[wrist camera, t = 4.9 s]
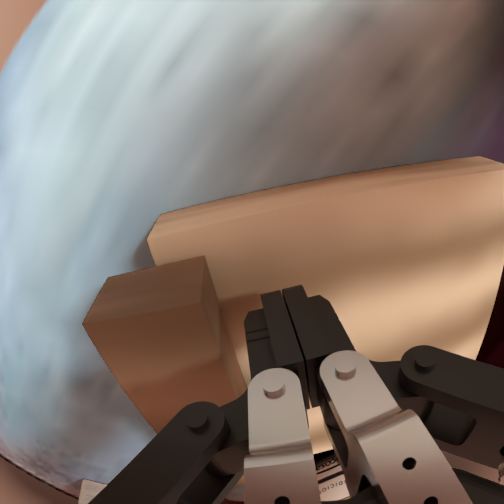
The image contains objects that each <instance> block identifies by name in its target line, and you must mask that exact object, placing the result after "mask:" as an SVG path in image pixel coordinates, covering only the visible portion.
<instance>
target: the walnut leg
mask: <svg viewBox="0 0 504 504" xmlns="http://www.w3.org/2000/svg"><path fill="white" fill-rule="evenodd" d="M82 325H83V326H84V328H85V330H86V332H87V333H88V335H89V337H90V339H91V340H92V342H93V344H94V345H95V347H96V349H97V350H98V352H99V353H100V355H101V357H102V358H103V360H104V361H105V363H106V364H107V366H108V367H109V369H110V371H111V372H112V374H113V375H114V376H115V378H116V379H117V381H118V382H119V384H120V385H121V387H122V388H123V390H124V391H125V392H126V394H127V395H128V397H129V398H130V399H131V401H132V402H133V403H134V405H135V406H136V407H137V409H138V410H139V411H140V413H141V414H142V415H143V417H144V418H145V419H146V420H147V422H148V423H149V424H150V425H151V427H152V428H153V429H154V430H155V432H156V433H157V434H158V433H159V432H160V431H161V430H162V429H163V428H164V427H165V426H166V425H167V424H168V423H169V422H170V421H171V419H172V418H173V417H174V416H175V415H176V414H177V413H178V412H179V411H180V410H181V409H182V408H184V407H185V406H187V405H189V404H191V403H194V402H200V401H206V402H211V403H214V404H216V405H217V406H218V407H221V406H223V405H225V404H227V403H229V402H232V401H234V400H235V399H237V398H239V397H240V396H241V395H242V394H243V393H244V392H245V391H246V390H247V386H246V383H245V380H244V377H243V374H242V371H241V368H240V365H239V363H238V360H237V357H236V354H235V351H234V348H233V345H232V342H231V339H230V335H229V332H228V329H227V326H226V323H225V320H224V317H223V314H222V311H221V307H220V304H219V301H218V298H217V295H216V291H215V288H214V285H213V282H212V278H211V275H210V272H209V268H208V265H207V262H206V258H205V255H204V256H199V257H195V258H190V259H186V260H182V261H177V262H173V263H168V264H164V265H160V266H155V267H151V268H147V269H142V270H138V271H133V272H129V273H125V274H120V275H116V276H112V277H108V278H107V280H106V282H105V283H104V285H103V287H102V289H101V290H100V292H99V294H98V296H97V297H96V299H95V301H94V303H93V305H92V307H91V308H90V310H89V312H88V314H87V316H86V318H85V320H84V321H83V323H82ZM226 499H228V500H232V501H244V474H243V476H242V477H241V478H240V480H239V481H238V482H237V484H236V485H235V486H234V488H233V489H232V490H231V491H230V493H229V494H228V495H227V497H226Z"/></svg>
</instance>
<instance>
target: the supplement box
mask: <svg viewBox="0 0 504 504" xmlns="http://www.w3.org/2000/svg"><path fill="white" fill-rule="evenodd" d="M106 486H107V484H102V483H98V482H94V481H90V480H86V479H83V480H82V485H81V490H80V495H79V501H78V504H88V503H89V502H90V501H91V500H92V499H93V498H94V497H95V496H96V495H97V494H98V493H99V492H101V491H102V490H103V489H104V488H105V487H106Z"/></svg>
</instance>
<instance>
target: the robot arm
mask: <svg viewBox="0 0 504 504" xmlns="http://www.w3.org/2000/svg"><path fill="white" fill-rule="evenodd" d="M260 296H261V301H262V305H263V308H262V309H258V310H253V311H249V312H248V314H247V316H246V318H245V320H244V329H245V336H246V343H247V351H248V359H249V366H250V374H251V381H250V384H249V386H248V388H247V390H246V391H245V392H244V393H243V394H242V395H241V396H240V397H239V398H237V399H235V400H234V401H232V402H229V403H227V404H225V405H223V406H221V407H218V406H217V405H216V404H214V403H211V402H206V401H200V402H194V403H191V404H189V405H187V406H185V407H184V408H182V409H181V410H180V411H179V412H178V413H177V414H176V415H175V416H174V417H173V418H172V419H171V421H170V422H169V423H168V424H167V425H166V426H165V427H164V428H163V429H162V430H161V431H160V432H159V433H158V434H157V435H156V436H155V437H154V438H153V439H152V441H151V442H150V443H149V444H148V445H147V446H146V447H145V448H144V449H143V450H142V451H141V452H140V453H139V454H138V455H137V456H136V457H135V458H134V459H133V460H132V461H131V462H130V463H129V464H128V465H127V466H126V467H125V468H124V469H123V470H122V471H121V472H120V473H119V474H118V475H117V476H116V477H115V478H114V479H113V480H112V481H111V482H110V483H109V484H108V485H107V486H106V487H105V488H104V489H103V490H102V491H101V492H99V493H98V494H97V495H96V496H95V497H94V498H93V499H92V500H91V501H90V502H89V503H88V504H221V503H222V502H223V500H224V499H225V498H226V497H227V495H228V494H229V493H230V491H231V490H232V489H233V488H234V486H235V485H236V484H237V482H238V481H239V480H240V478H241V477H242V476H243V474H244V504H504V369H502V368H499V367H495V366H492V365H489V364H486V363H483V362H479V361H476V360H473V359H470V358H467V357H464V356H461V355H458V354H454V353H451V352H448V351H445V350H442V349H439V348H436V347H433V346H429V345H419V346H415V347H412V348H410V349H409V350H407V351H406V352H405V353H404V354H403V356H402V358H401V360H400V361H387V362H377V361H371V360H368V359H367V357H365V356H364V355H363V354H361V353H359V352H357V351H356V350H355V348H354V346H353V344H352V342H351V340H350V338H349V337H348V335H347V333H346V331H345V329H344V327H343V325H342V323H341V322H340V321H339V318H338V316H337V314H336V313H335V310H334V309H333V307H332V305H331V303H330V301H328V300H327V299H325V298H324V297H322V296H321V295H316V296H312V297H307V294H306V292H305V290H304V288H303V286H302V285H297V286H293V287H289V288H285V289H282V294H281V291H280V290H277V291H272V292H268V293H264V294H260ZM309 399H310V403H311V406H312V408H314V407H318V406H320V409H321V412H322V415H323V424H324V428H325V430H326V433H327V435H328V437H329V440H330V442H331V445H332V447H333V449H334V452H335V454H336V456H337V459H338V461H339V463H340V466H341V468H342V471H343V474H344V477H345V482H346V486H347V489H348V492H349V495H350V497H351V498H349V499H346V500H336V501H321V498H320V492H319V486H318V480H317V474H316V467H315V461H314V456H313V450H312V445H311V441H310V435H309V423H308V415H307V409H310V404H309ZM440 450H443V451H446V452H448V453H451V454H454V455H457V456H460V457H462V458H465V459H468V460H471V461H474V462H477V463H480V464H483V465H486V466H489V467H492V468H495V469H498V470H499V478H498V480H499V483H500V484H499V483H496V482H493V481H490V480H488V479H484V478H482V477H479V476H477V475H474V474H471V473H469V472H466V471H464V470H460V469H456V468H451V466H450V465H449V463H448V462H447V460H446V459H445V457H444V455H443V454H442V452H441V451H440Z"/></svg>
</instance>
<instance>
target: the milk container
mask: <svg viewBox="0 0 504 504" xmlns="http://www.w3.org/2000/svg"><path fill="white" fill-rule="evenodd" d="M315 467H316V474H317V480H318V486H319V492H320V498H321V501H336V500H346V499H349V498H351V497H350V495H349V492H348V489H347V486H346V482H345V477H344V474H343V471H342V468H341V466H340V463H339V461H338V459H337V456H336V454H335V452H334V453H332V454H330V455H328V456H326V457H324V458H321V459H319V460H317V461H315Z"/></svg>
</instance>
